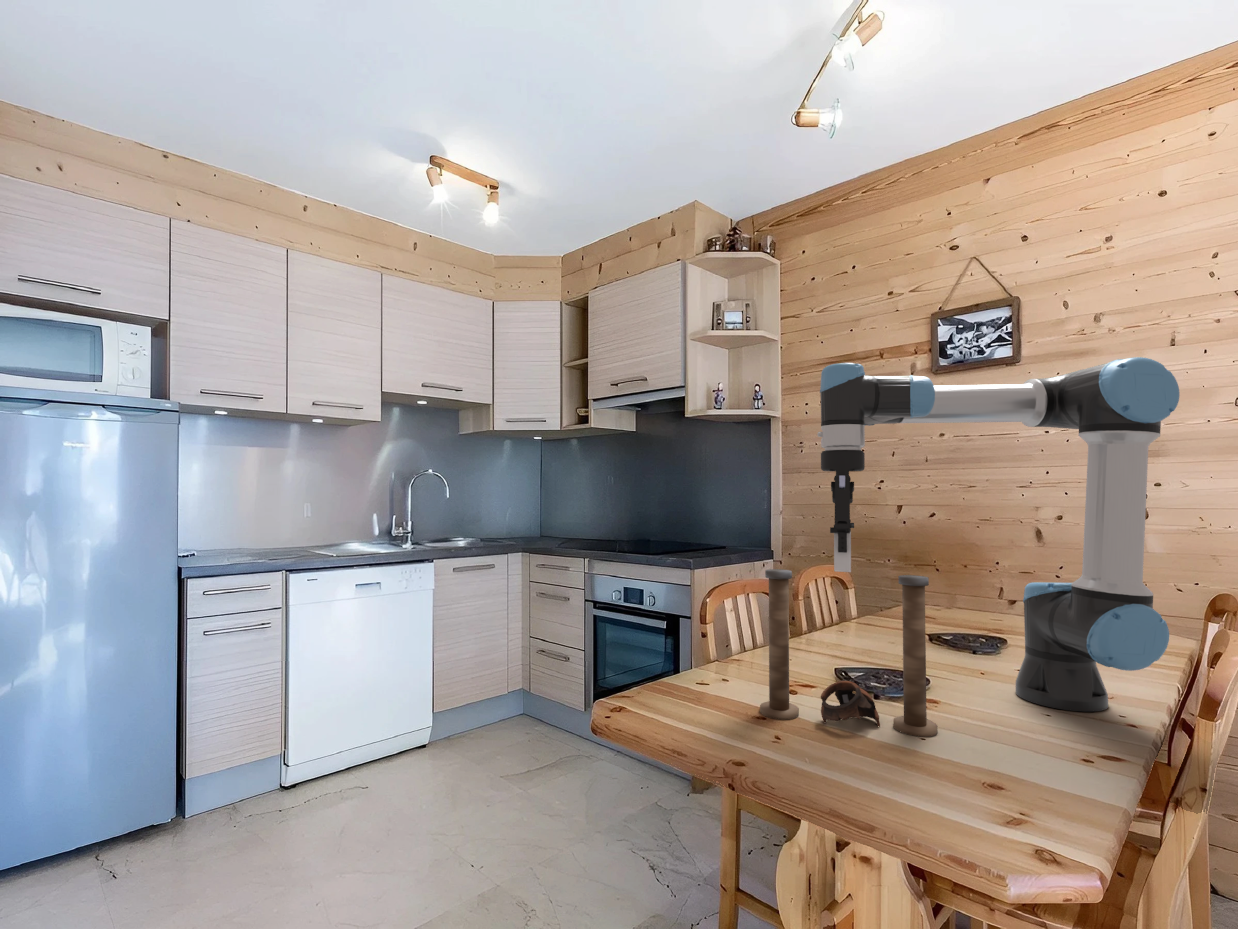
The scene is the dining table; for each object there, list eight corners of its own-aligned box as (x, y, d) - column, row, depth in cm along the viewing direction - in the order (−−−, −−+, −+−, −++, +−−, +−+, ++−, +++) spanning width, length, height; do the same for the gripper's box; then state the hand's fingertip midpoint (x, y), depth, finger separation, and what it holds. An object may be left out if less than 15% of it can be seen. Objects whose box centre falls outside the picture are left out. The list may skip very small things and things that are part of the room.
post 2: (935, 724, 114) (933, 575, 115) (940, 739, 108) (938, 580, 108) (892, 719, 117) (890, 573, 117) (894, 733, 110) (892, 578, 111)
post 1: (800, 709, 122) (799, 569, 123) (797, 721, 115) (796, 574, 116) (762, 704, 124) (761, 567, 125) (757, 716, 118) (756, 572, 119)
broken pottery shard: (892, 736, 110) (872, 697, 109) (840, 757, 112) (820, 719, 110) (869, 696, 122) (852, 660, 120) (823, 715, 123) (805, 680, 122)
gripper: (823, 453, 131) (824, 558, 130) (817, 445, 107) (818, 574, 106) (863, 452, 128) (864, 560, 127) (865, 445, 105) (866, 577, 104)
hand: (843, 567), depth 117 cm, fingers open, 13 cm apart
